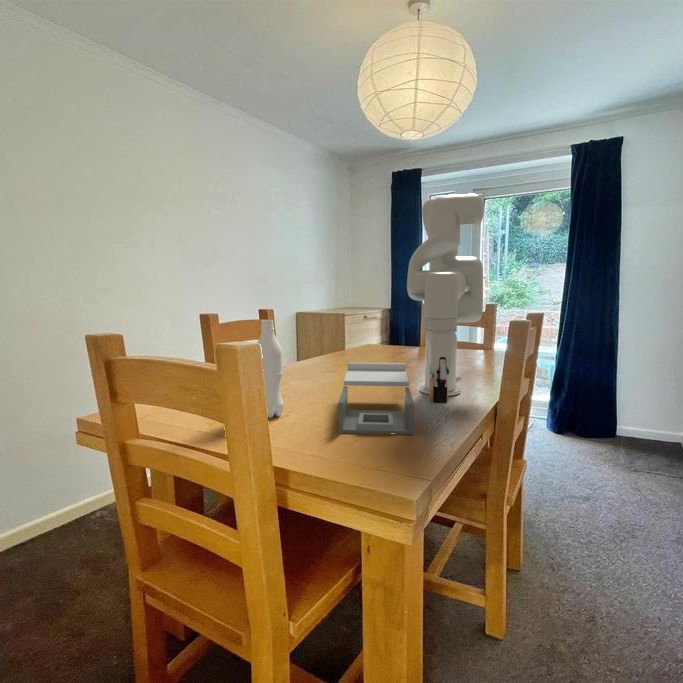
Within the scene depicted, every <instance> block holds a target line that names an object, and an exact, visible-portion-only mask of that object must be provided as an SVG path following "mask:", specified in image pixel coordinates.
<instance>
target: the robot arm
mask: <svg viewBox="0 0 683 683" xmlns="http://www.w3.org/2000/svg"><path fill="white" fill-rule="evenodd" d="M421 211H422V212H421V216H422V222H423V226H424V229H425V230H424V231H425V233H426V236H427V239H426V240H425V241H423V242H422V243H421V244H420V245H419V246H418V247H417V248H416V249H415V251H414V252H413V254H412V255H411V257H410V259H409V263H408V269H407V270H408V271H407V280H406V291H407V294H408V297H409V298H410V299H411V300H414V301H421V302H422V301H423V313H424V314H423V316H424V318H423V331H424V332H425V354H424V355H425V356H424V358H425V359H424V361H425V362H424V383H423V384H421V385H420V386H419V391H420V393H423V394H425V395H429V385H430V378H433V377H435V386H433V402H434V403H446V404H448V402H447V379H448V397H453V396H457V395H460V393H461V388H460V387H459V386H457V383H458V382H461V381H462V377H461V375H457V355H458V354H457V352H458V351H457V350H458V349H457V348H458V337H457V333H456V332H457V331H458V329H457V328H458V323H477V322H479V321H480V320H481V318H482V316H483V310H484V269H483V268H484V267H483V263H482V261H481V260H480V258H478V257H477V256H459V253H458V252H459V246H460V244H461V227H472V226H473V227H475V226H477V227H478V226H479V225H481V223H482V221H483V219H484V215H485V204H484V200H483V198H482V196H481V195H479V194H477V193H466V194H465V193H464V194H447V195H446V194H445V195H442V196H438V197H434V198H433V197H432V198H430V199H428V200H426V201H425V202H424V203H423V204H422V208H421ZM427 264H429V270H421V269H422V268H423V267H425V266H426V265H427ZM438 377H440V378H438Z"/></svg>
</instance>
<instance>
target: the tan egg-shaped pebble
mask: <svg viewBox="0 0 683 683" xmlns="http://www.w3.org/2000/svg"><path fill="white" fill-rule="evenodd" d="M438 378H440V377H438ZM433 386H435V377H433V378H430V385H429V394H428V402H429V403H431V404H434V405H445V404H447V403H448V401H449V400H448V398H449V396H448V379H447V403H434V402H433Z"/></svg>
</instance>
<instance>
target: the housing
mask: <svg viewBox="0 0 683 683" xmlns="http://www.w3.org/2000/svg"><path fill="white" fill-rule="evenodd" d="M348 387H349V385H343V387H342V390H341V394H340V396H339V400H338V402H337V403H338V406H337V407H338V409H337V410H338V434H359V433H361V434H363V435H365V434H366V435H371V434H372V435H392V434H391V433H395V434H394V435H397V434H413V435H414V424H415V423H414V422H415V421H414V420H415V418H414V415H415V412H414V411H415V403H414V400H413V397H412V393H411V390H410V386H404V411H403V410H370V409H369V410H363V409H359V410H358V409H349V408H348V407H349V406H348V404H349V403H348V402H349V401H348V396H349V394H348ZM368 433H370V434H368Z"/></svg>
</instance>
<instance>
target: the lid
mask: <svg viewBox="0 0 683 683" xmlns="http://www.w3.org/2000/svg"><path fill="white" fill-rule="evenodd" d="M406 365H407V364H406V363H405V362H393V363H392V362H348V363H347V371H346V374H345V376H344V378H343V386H356V387H357V386H361V387H363V386H364V387H368V386H369V387H372V386H373V387H374V386H375V387H410V381H409V378H408V374H407V372H406V369H407V368H406Z"/></svg>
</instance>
